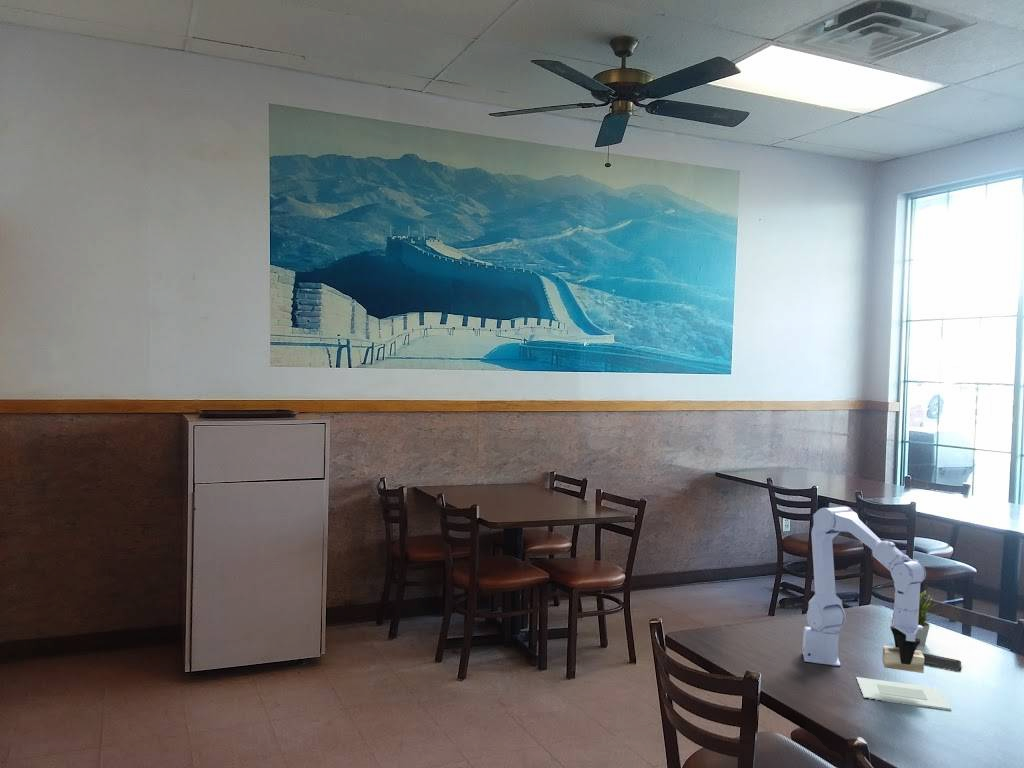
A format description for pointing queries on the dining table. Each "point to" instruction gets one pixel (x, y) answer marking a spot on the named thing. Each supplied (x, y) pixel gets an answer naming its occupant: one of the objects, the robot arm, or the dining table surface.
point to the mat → (902, 693)
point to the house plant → (923, 619)
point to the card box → (893, 660)
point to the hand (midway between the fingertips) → (903, 659)
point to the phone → (942, 662)
